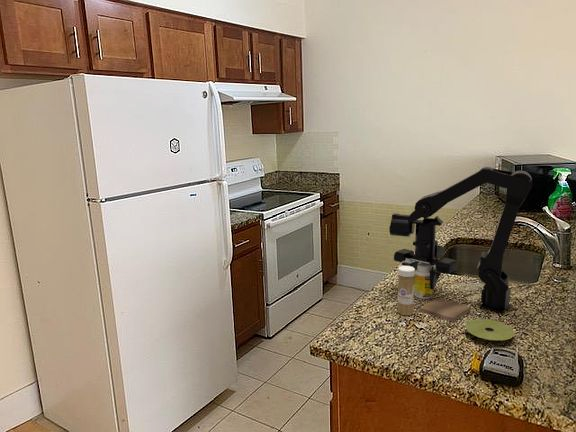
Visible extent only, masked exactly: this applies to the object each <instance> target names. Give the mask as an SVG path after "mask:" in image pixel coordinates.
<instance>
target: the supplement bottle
mask: <svg viewBox="0 0 576 432" xmlns="http://www.w3.org/2000/svg"><path fill="white" fill-rule="evenodd" d="M430 270H432V265H429V264H425V263H421V262H419V264H418V266H417V270H415V280H414V297H415V298H417V299H421V300H429V299H431V298H432V297H433V296H434V295H433V294H434V293H433V292H434V289H433V290H431V287H430Z"/></svg>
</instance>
